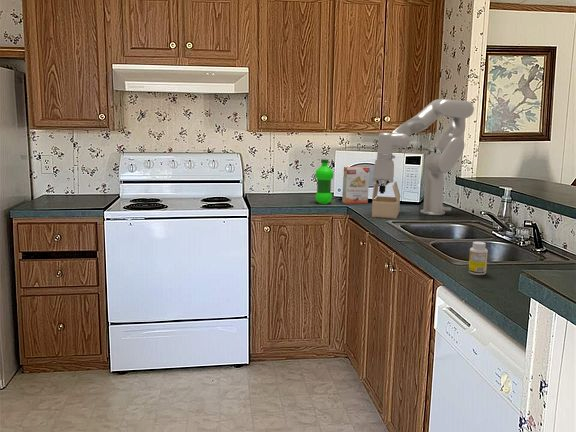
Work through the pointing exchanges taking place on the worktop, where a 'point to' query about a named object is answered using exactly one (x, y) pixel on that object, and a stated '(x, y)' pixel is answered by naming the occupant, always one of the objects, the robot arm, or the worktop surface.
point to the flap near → (396, 191)
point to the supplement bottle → (478, 258)
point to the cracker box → (355, 185)
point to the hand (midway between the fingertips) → (382, 193)
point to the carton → (385, 207)
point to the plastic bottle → (324, 183)
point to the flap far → (375, 190)
